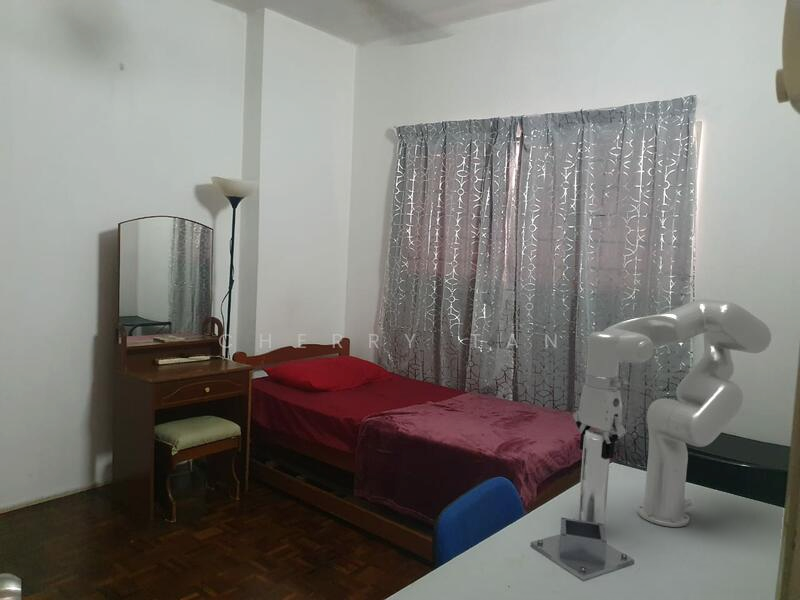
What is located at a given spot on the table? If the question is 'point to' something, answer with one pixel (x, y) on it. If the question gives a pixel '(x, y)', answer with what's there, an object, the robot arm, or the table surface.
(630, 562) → the metal base plate
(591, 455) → the air filter
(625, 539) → the table surface
